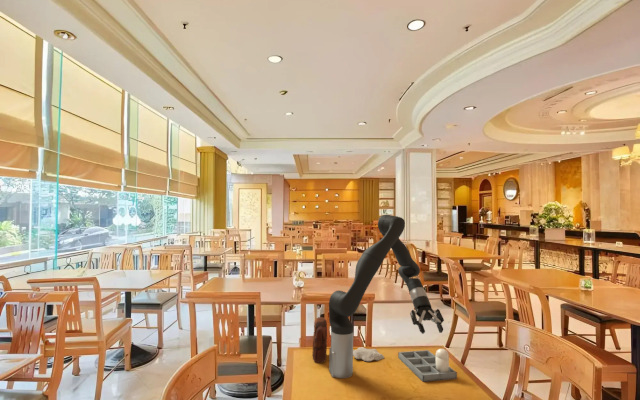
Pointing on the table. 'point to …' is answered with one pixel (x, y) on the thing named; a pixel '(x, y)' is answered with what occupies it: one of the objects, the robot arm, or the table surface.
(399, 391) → the table surface
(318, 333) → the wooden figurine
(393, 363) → the table surface
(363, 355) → the decorative stone
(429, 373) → the grey compartment tray
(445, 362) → the cream rounded cylinder
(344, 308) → the robot arm
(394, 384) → the table surface
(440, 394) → the table surface
